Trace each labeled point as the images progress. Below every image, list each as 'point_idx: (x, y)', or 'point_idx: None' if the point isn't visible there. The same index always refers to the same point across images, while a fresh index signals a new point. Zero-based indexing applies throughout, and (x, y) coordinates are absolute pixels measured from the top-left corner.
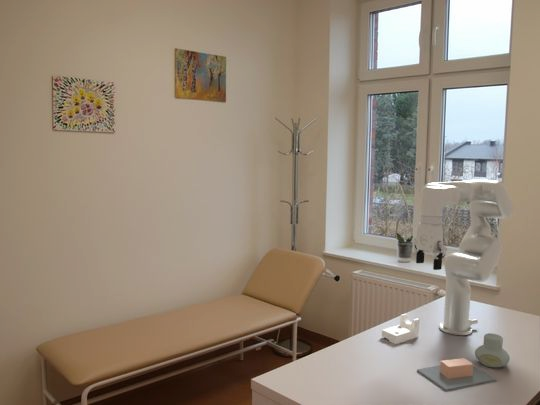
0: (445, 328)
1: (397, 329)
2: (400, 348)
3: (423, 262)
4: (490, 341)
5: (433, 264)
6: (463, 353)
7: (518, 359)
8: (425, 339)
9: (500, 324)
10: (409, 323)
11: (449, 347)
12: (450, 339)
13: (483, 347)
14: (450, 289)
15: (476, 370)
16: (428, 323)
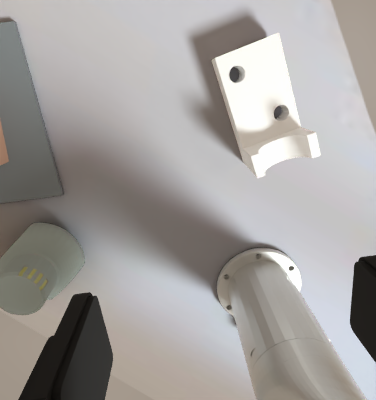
0: (258, 258)
1: (264, 93)
2: (178, 58)
3: (350, 324)
4: (2, 272)
5: (82, 330)
6: (116, 221)
7: None
8: (221, 172)
9: None
10: (276, 149)
11: (157, 207)
12: (204, 238)
13: (37, 253)
14: (295, 356)
15: (2, 190)
16: (319, 241)
